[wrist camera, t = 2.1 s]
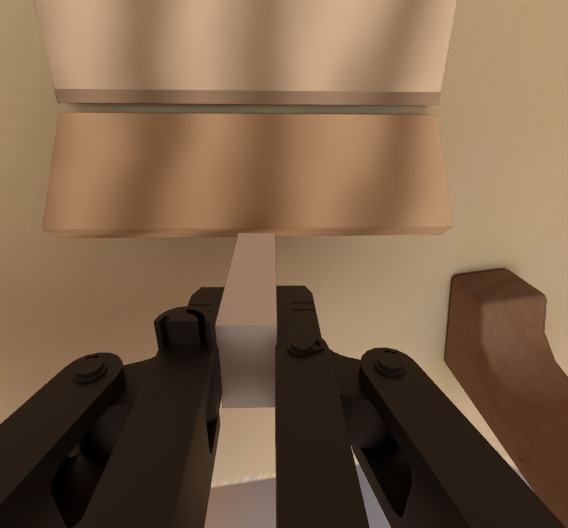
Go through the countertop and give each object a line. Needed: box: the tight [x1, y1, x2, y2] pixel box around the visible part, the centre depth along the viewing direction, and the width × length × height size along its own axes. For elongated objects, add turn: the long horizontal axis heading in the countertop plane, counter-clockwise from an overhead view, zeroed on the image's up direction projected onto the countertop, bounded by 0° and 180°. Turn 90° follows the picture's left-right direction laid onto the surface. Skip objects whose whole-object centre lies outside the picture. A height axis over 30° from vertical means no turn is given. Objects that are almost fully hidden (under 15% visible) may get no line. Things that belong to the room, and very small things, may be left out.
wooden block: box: [445, 269, 568, 528], centre depth 21 cm, size 9×4×18 cm, turn 7°
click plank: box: [42, 113, 453, 238], centre depth 20 cm, size 22×7×2 cm
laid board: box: [33, 0, 457, 105], centre depth 19 cm, size 22×6×2 cm, turn 90°
